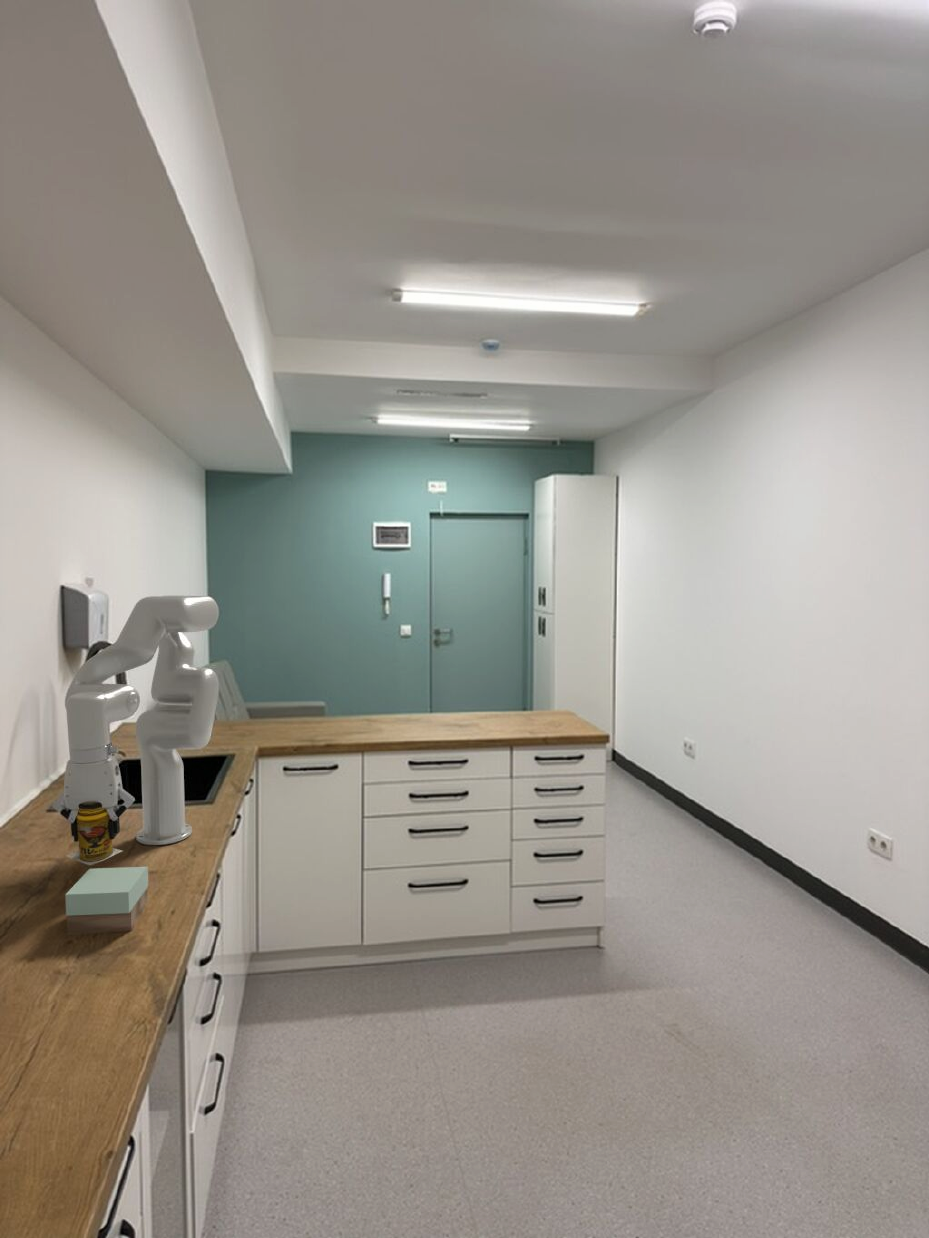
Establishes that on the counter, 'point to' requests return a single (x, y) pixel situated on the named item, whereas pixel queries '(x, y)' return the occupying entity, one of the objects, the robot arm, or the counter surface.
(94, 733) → the robot arm
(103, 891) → the top block
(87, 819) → the condiment
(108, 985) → the counter surface
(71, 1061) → the counter surface
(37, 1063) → the counter surface
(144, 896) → the bottom block
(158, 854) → the counter surface
